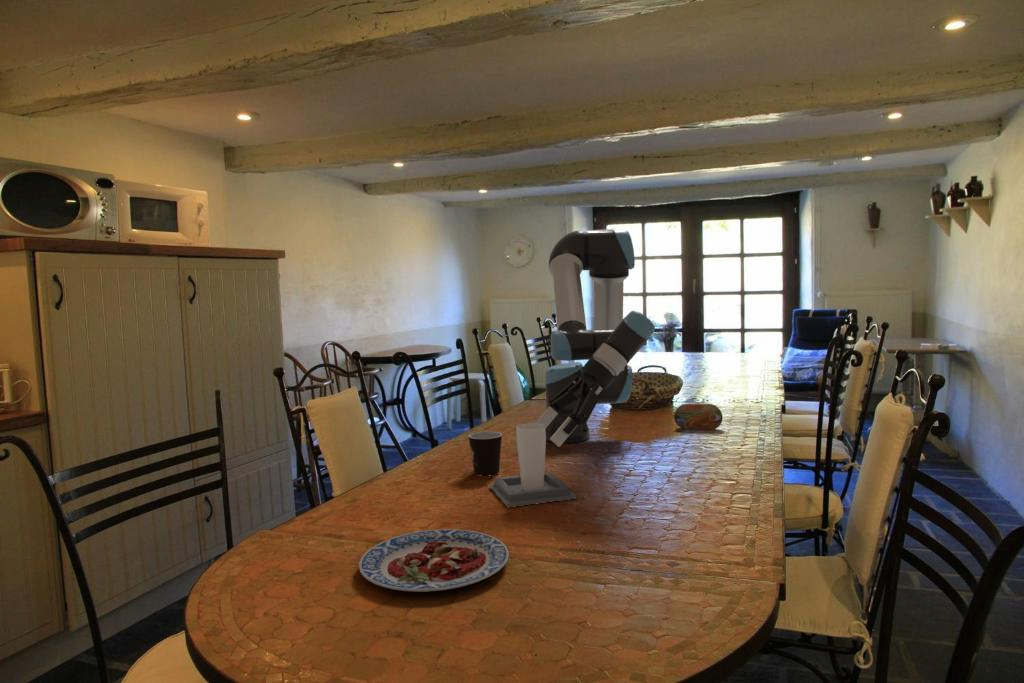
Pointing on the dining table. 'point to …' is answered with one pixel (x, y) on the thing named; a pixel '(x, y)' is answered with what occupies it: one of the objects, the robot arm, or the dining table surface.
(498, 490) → the plastic holder
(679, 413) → the tin
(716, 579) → the dining table surface
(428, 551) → the ceramic plate
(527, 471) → the drinking glass
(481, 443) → the coffee mug
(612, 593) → the dining table surface
